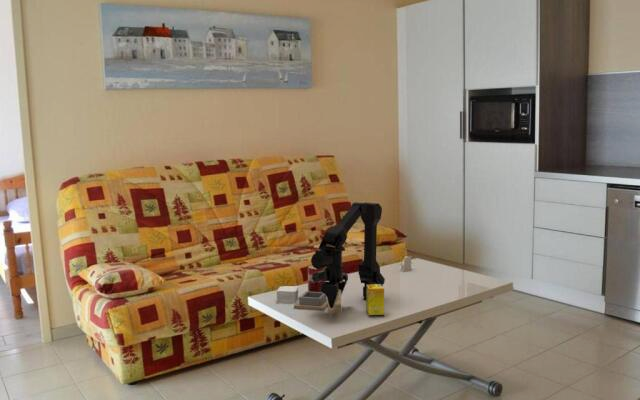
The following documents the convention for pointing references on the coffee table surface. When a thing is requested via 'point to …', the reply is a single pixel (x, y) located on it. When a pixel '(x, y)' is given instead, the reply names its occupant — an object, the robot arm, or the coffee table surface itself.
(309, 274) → the soda can
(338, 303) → the maple peg
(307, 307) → the sleeve socket
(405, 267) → the architectural model
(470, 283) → the coffee table surface
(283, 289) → the small box
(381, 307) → the supplement box
